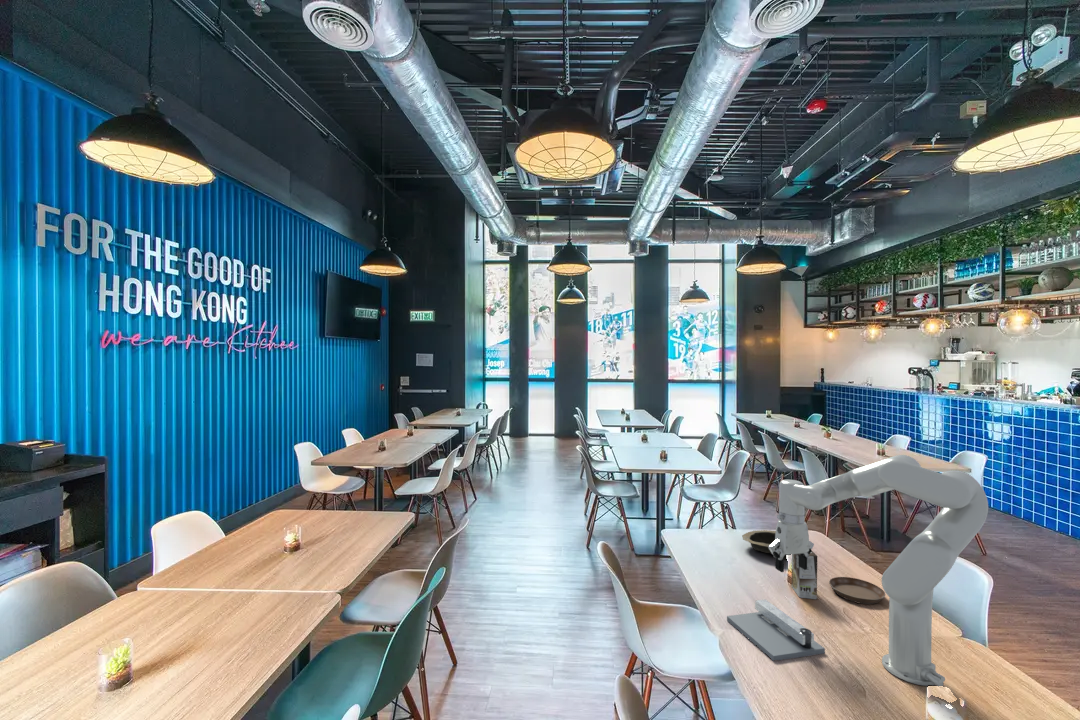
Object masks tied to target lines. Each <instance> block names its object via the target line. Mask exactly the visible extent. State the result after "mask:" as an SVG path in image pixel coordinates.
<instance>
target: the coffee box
mask: <svg viewBox="0 0 1080 720" xmlns="http://www.w3.org/2000/svg"><path fill="white" fill-rule="evenodd" d="M798 556H799V554H792V559H791V588H792V590H793V591H794V592H795V594H796V595H797V596H798V598H801V599H809V600H817V599H818V558H819V556H818V555H817V554H816V553H815V552H814V551H813V550H812V551H811V553H810V554H809V557H808V558H807V570H804V569H802V568H801V567H799V566H798Z"/></svg>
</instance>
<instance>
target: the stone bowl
mask: <svg viewBox="0 0 1080 720" xmlns="http://www.w3.org/2000/svg"><path fill="white" fill-rule="evenodd" d="M775 534H776V530H771V529H769V530H768V529H766V530H764V529H763V530H762V529H761V530H760V529H759V530H751V531H748V532H745V533H743V534H742V535H741V536H742V540H743V541H745V542H748V543H749V544H750V546H751V548H752V549H753V550H754V551H757V552H761V553H765V554H771V551H770V550H769V548H768V546H769V545H770V544H772V543H773V542H774V541H775ZM775 550H777V549H776V548H775ZM780 554H781V552H780V553H779V555H780ZM771 555H772V554H771ZM786 555H787V554H785V555H784V557H783V559H782V560H785V561H787V560H786Z"/></svg>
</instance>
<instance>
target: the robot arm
mask: <svg viewBox="0 0 1080 720" xmlns="http://www.w3.org/2000/svg"><path fill="white" fill-rule="evenodd" d="M778 484H779V486H778V487H779V489H778V490H779V491H778V494H779V495H778V498H779V499H778V514H777V515H776V518H777V519H778V520H777V523H776V528H775V531H776V534H775V541H774V542H773V543H772V544H770V545H769V546H768V548H769V550H770V551H771V555H772V556H773V558H774V559H775V560H774V561H775V562H774V564H775V565H774V567H775V569H776V570H777V571H778V572H780V573H784V571H785V561H784V560H785V559H783V557H784V555H785V554H787V555H791V554H799V556H798V566H799V567H801V568H802V569H804V570H807V558H808V557H809V554H810V553H811V551H813V547H814V546H815V543H814V542H812V541H811V540H810V535H809V529H808V524H807V522H806V521H805V508H806V509H808V510H811V511H820V510H823V509H825V508H826V507H828V506H830V505H832V504H834V503H838V502H842V501H844V500H849V499H852V498H856V497H863V498H868V497H873V496H877V495H879V494H883V493H887V492H889V491H893V490H895V491H896V492H897V491H898V492H900V493H903V494H905V495H907V496H909V497H910V496H911V497H913V498H915V499H919V500H921V501H924V502H927V503H929V504H933V505H936V506H937V507H941V508H942V509H941V510H940V511H939V512H938V513H937V514H936V515H935V517H934V518H933V520H932V521H931V522H930V524H929V523H928V524H929V525H928V526H926V528H925V529H924V530H922V531H921V532H920V533H919V534H917V535H916V536H915V537H914V538H913V539H912V540H911V541H910V542H909V543H908V544H907V546H906V547H905V548H904V549H903V550H902V551H901V552H900V553H899V554H898V556H897V557H896V558H895V559H894V560H893V562H892V563H891V564H890V565H889V566H888V567H887V568H886V570H885V571H884V572H883V574H882V575H881V586H882V590H883V591H884V592H885V595H886V596H888V597H889V601H888V602H889V604H888V653H885V654H884V655H883V656H882V658H881V664H882V666H883V667H884V668H885V669H886V671H888V672H889V673H890V674H891V675H893V676H895V677H896V678H899V679H901V680H904V681H905V682H908V683H910V684H914V685H919V686H924V687H925V686H926V687H929V686H928V685H932V686H936V687H939V686H942V687H943V686H944V682H945V680H946V678H945V676H943V674H940V673H938V672H937V671H936V664H934V663H933V662H932V641H933V640H932V637H933V636H932V633H933V629H932V628H933V627H932V624H933V599H934V589H935V588H936V587H937V585H939V583H940V582H941V581H942V580H943V579H944V578H945V577H946V576H947V574H949V572H950V571H951V569H952V568H953V567H954V565H955V563H956V561H957V558H958V557H959V555H960V554H961V553H962V552H963V550H964V549H965V548H967V546H968V545H969V544H970V542H971V541H972V540H973V539H974V538H975V536H977V534H978V533H979V532H980V531H981V529H982V527H983V526H984V524H985V522H986V520H987V517H988V513H989V500H988V497H987V495H986V492H985V490H984V488H983V487H982V485H981V484H980V483H979V482H978V480H977V479H975V478H974V476H973V475H971V474H969V473H967V472H964V471H961V470H957V469H956V470H952V469H951V470H947V471H944V472H943V471H942V472H941V473H940V472H937V471H935V470H930V469H927V468H925V467H922V466H921V464H920V463H919V461H917V459H915V458H913V457H912V456H910V455H906V454H898V455H897V454H896V455H894V456H891V457H888V458H885V459H881V460H878V461H875V462H872V463H870V464H866V465H863V466H860V467H857V468H854V469H851V470H849V471H847V472H844V473H842V474H839V475H836V476H833V477H831V478H826V479H824V480H821V481H817V482H814V483H812V484H810V485H809V484H808V485H804V483H803V482H801V481H799V480H796V479H782V480H781V481H780V482H779V483H778ZM775 548H776V549H777V550H775ZM780 552H781V554H780V555H779V553H780Z"/></svg>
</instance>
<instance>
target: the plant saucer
mask: <svg viewBox="0 0 1080 720" xmlns="http://www.w3.org/2000/svg"><path fill="white" fill-rule="evenodd" d="M828 583H829V586H830V587H831V588H832V590H833V591H834V592H835V593H836V594H837V595H838V596H839V597H841V598H843V599H846V600H849V601H851V602H855V603H859V604H864V605H874V604H877V603H880V602H881V601H882V600H883V599H884V598H885V597H886V593H885V591H884V589H883V588H881V587H880V586H878V585H876V584H875V583H872V582H869V581H867V580H863V579H860V578H855V577H849V576H835V577H832V578H830V579H829V580H828Z"/></svg>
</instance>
